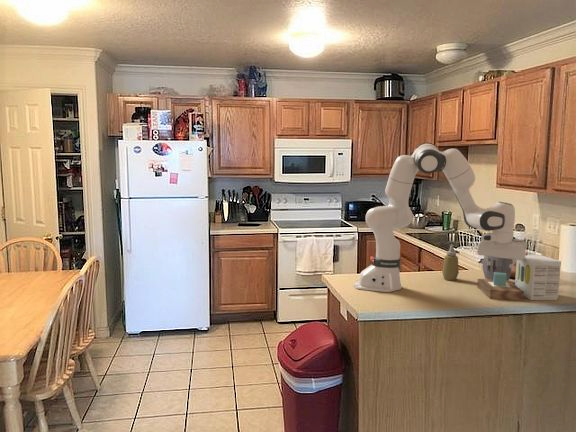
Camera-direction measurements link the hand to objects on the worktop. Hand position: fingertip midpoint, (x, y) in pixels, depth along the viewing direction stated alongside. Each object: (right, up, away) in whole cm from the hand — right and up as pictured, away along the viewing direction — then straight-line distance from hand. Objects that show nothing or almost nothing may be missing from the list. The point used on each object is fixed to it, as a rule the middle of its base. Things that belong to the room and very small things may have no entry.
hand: (499, 267), depth 217 cm
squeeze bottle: (-14, -9, +25) cm, 30 cm away
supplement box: (+15, -13, -3) cm, 20 cm away
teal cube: (0, -8, 0) cm, 8 cm away
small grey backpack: (+7, -10, +22) cm, 25 cm away
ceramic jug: (+22, -9, +34) cm, 42 cm away
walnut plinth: (0, -12, +1) cm, 12 cm away
